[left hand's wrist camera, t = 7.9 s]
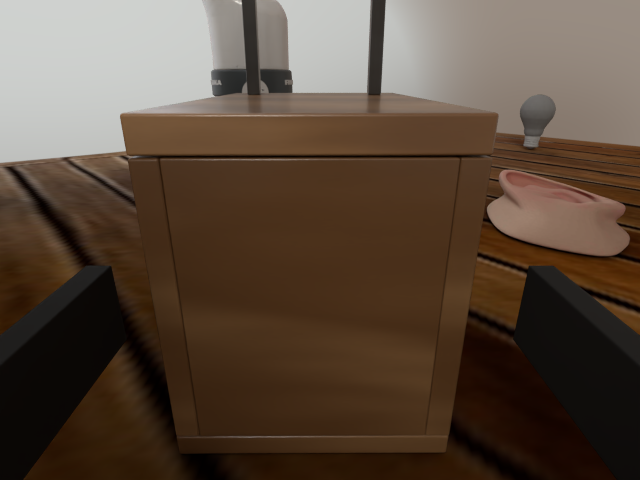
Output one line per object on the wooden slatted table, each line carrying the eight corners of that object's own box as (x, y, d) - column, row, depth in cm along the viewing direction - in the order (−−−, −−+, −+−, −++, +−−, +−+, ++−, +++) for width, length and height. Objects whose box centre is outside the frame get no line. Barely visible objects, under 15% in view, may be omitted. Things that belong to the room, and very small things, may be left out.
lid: (236, 111, 26) (225, -37, 23) (392, 111, 26) (401, -37, 23) (125, 156, 11) (52, -255, 8) (493, 156, 11) (558, -254, 8)
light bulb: (520, 150, 78) (530, 95, 74) (509, 145, 83) (518, 93, 79) (552, 150, 77) (564, 95, 73) (539, 146, 83) (550, 94, 79)
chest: (247, 270, 30) (235, 113, 26) (383, 270, 30) (393, 113, 26) (179, 454, 15) (126, 158, 11) (446, 453, 15) (493, 157, 11)
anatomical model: (667, 213, 29) (493, 197, 33) (650, 264, 30) (486, 242, 34) (616, 174, 40) (492, 166, 44) (606, 212, 42) (487, 201, 46)
